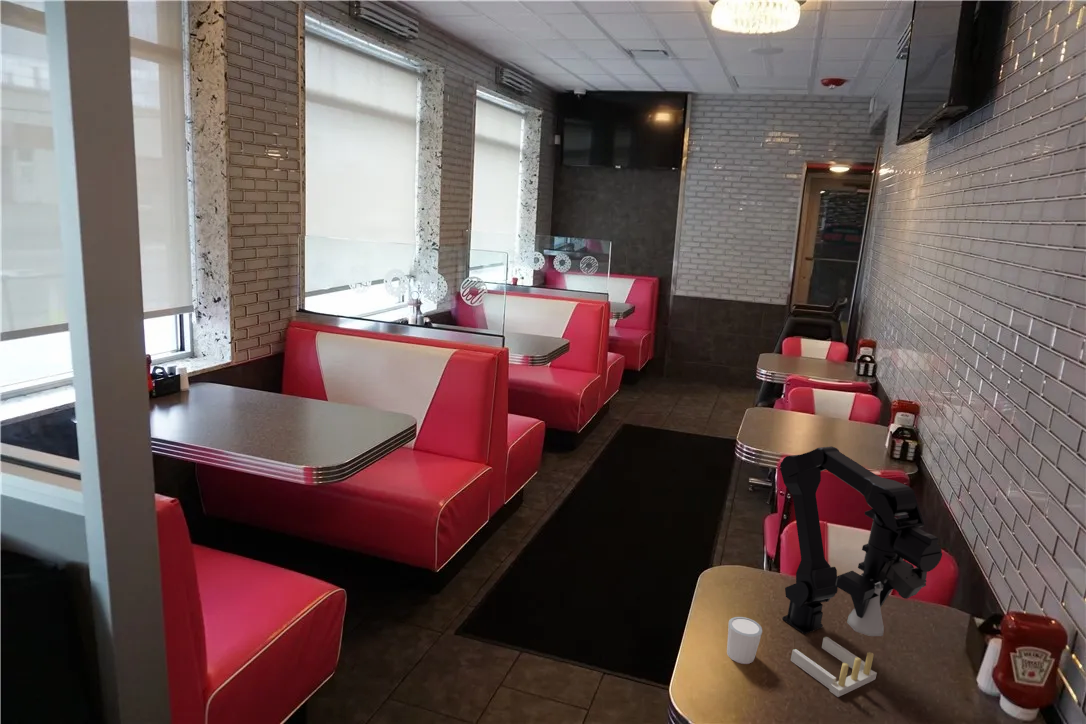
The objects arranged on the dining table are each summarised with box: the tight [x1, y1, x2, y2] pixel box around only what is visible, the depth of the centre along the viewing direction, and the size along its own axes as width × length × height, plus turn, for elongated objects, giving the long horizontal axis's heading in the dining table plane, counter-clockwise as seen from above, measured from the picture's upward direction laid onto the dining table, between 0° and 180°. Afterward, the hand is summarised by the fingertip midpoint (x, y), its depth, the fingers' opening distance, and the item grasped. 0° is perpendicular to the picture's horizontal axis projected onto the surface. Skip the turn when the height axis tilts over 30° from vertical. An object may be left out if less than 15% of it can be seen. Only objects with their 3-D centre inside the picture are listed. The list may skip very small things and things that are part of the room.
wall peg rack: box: [790, 636, 878, 698], centre depth 149 cm, size 12×12×6 cm
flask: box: [846, 583, 885, 637], centre depth 148 cm, size 7×7×10 cm
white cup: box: [726, 616, 763, 665], centre depth 152 cm, size 7×7×7 cm
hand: (867, 613), depth 149 cm, fingers closed on flask, 5 cm apart
